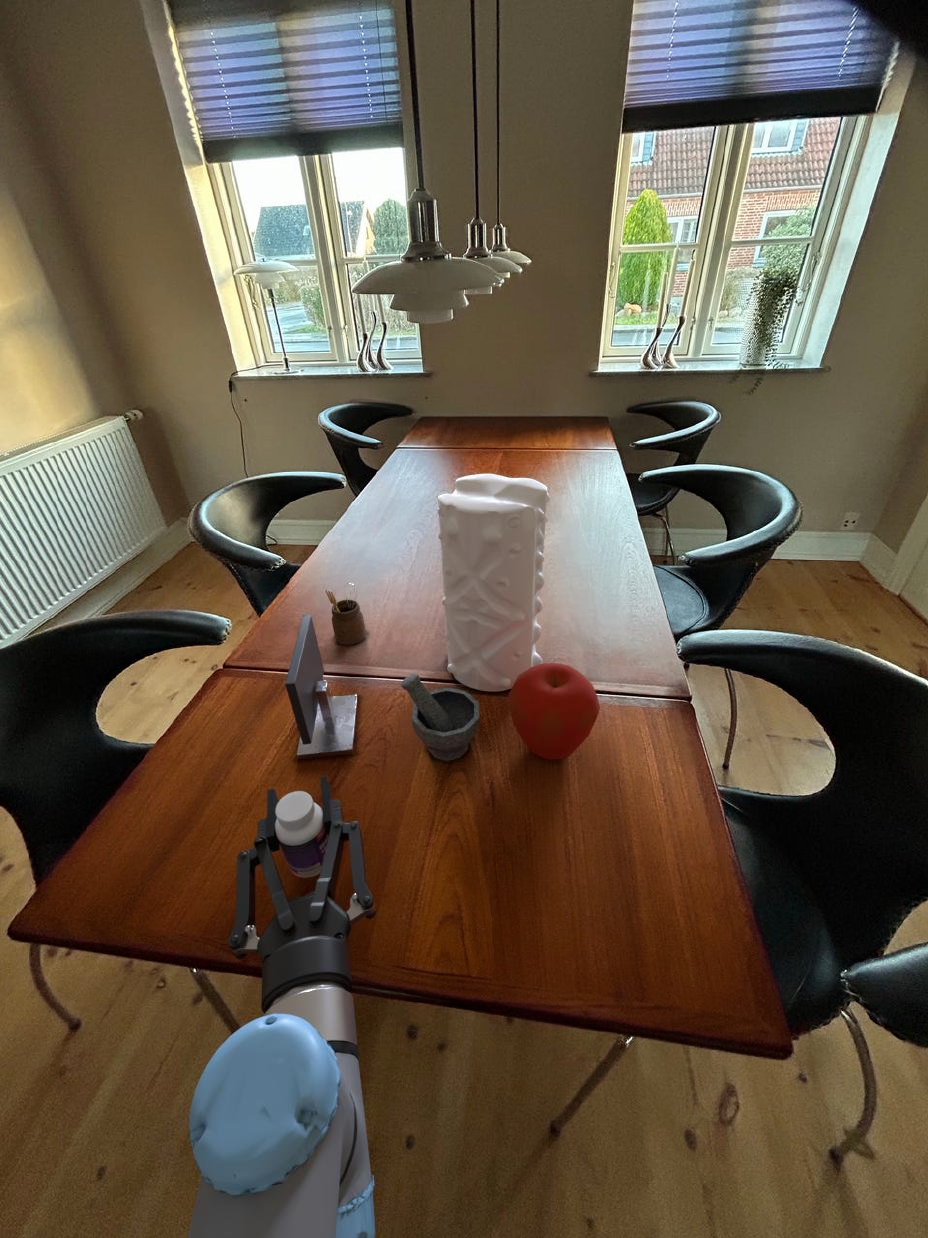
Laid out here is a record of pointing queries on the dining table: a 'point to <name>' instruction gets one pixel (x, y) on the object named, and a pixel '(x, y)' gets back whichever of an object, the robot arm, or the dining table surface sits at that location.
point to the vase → (492, 577)
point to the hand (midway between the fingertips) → (299, 790)
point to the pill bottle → (301, 833)
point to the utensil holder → (347, 620)
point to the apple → (553, 709)
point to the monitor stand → (331, 725)
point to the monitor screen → (305, 679)
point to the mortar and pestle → (443, 718)
